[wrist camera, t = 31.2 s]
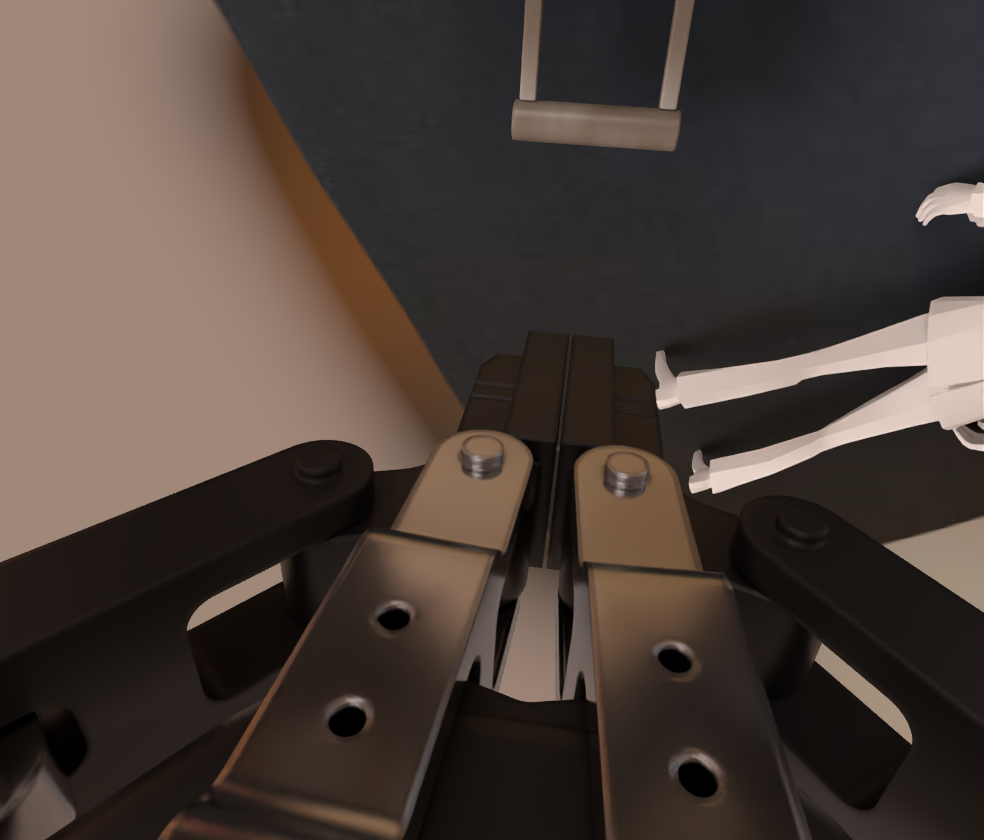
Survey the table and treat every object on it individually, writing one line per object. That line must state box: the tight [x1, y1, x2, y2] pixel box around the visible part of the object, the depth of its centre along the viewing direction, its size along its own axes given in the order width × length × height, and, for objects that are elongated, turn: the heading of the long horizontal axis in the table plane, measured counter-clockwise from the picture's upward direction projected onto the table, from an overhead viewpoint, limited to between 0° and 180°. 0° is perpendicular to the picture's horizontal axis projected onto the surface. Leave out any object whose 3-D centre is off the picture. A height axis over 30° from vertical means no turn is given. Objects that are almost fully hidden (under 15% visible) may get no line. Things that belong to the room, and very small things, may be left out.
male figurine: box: [655, 182, 984, 494], centre depth 29 cm, size 14×6×25 cm
